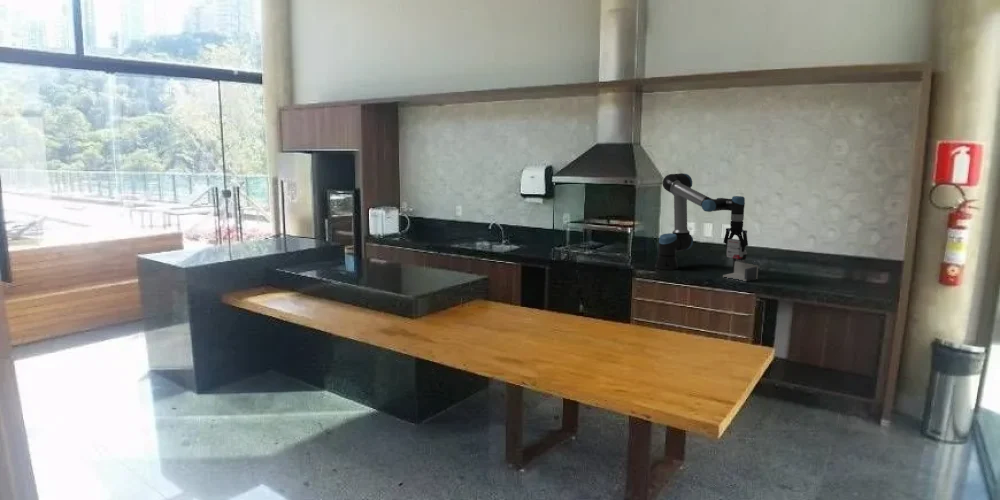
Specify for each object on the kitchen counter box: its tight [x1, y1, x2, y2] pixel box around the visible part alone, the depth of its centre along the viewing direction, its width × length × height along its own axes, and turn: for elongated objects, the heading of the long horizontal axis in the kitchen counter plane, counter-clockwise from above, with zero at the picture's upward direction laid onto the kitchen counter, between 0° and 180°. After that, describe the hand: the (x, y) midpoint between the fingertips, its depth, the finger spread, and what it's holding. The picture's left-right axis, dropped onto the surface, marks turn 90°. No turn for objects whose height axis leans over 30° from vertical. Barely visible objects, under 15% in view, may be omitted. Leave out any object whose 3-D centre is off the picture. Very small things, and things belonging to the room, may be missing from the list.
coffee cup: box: [732, 249, 748, 273], centre depth 388 cm, size 10×10×15 cm
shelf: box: [722, 261, 759, 282], centre depth 371 cm, size 16×13×9 cm
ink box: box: [726, 238, 742, 259], centre depth 372 cm, size 8×5×12 cm, turn 39°
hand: (734, 255), depth 373 cm, fingers closed on ink box, 9 cm apart
